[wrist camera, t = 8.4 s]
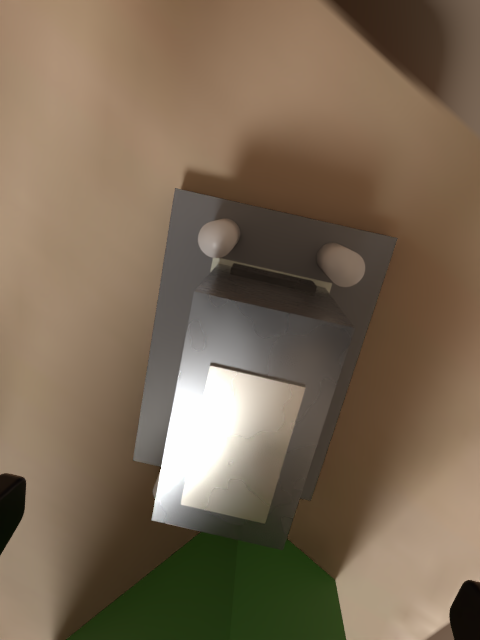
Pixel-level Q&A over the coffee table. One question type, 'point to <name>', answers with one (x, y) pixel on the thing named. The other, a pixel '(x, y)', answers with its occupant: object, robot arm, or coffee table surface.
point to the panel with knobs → (263, 253)
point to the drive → (250, 403)
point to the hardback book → (225, 597)
